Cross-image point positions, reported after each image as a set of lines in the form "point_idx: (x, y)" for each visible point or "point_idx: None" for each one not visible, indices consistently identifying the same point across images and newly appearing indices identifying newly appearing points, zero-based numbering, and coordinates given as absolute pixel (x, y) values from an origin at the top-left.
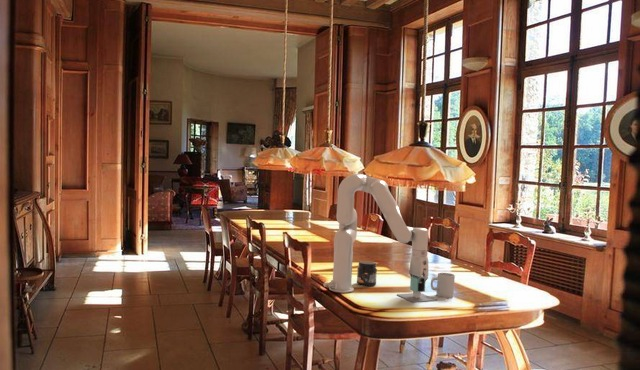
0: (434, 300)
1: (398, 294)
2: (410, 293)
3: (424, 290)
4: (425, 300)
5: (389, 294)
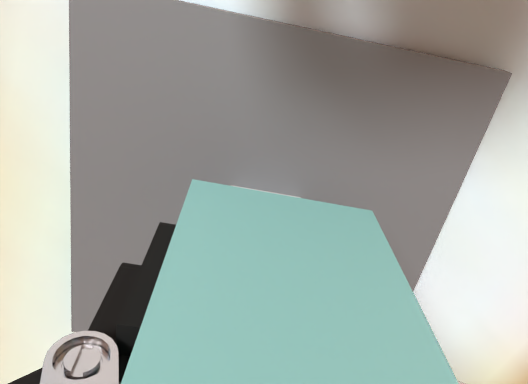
0: (489, 111)
1: (84, 323)
2: (76, 166)
3: (373, 229)
4: (430, 237)
5: (23, 359)
